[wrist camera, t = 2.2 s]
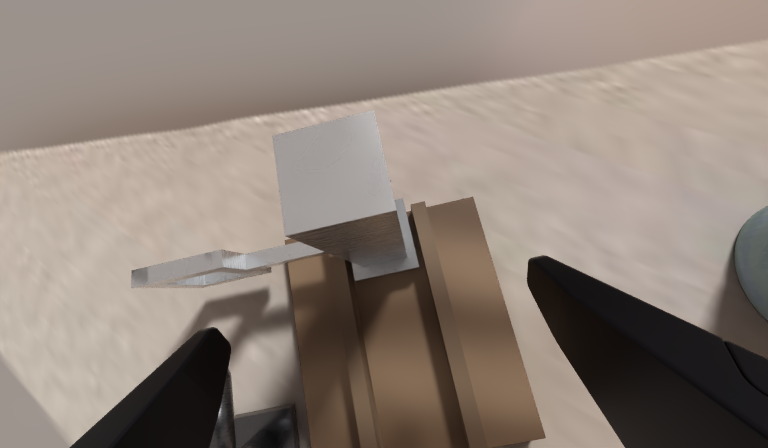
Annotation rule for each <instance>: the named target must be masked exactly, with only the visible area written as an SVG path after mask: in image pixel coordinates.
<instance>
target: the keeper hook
mask: <svg viewBox="0 0 768 448" xmlns="http://www.w3.org/2000/svg"><path fill="white" fill-rule="evenodd" d="M209 448H300V447H299V439H298V430H297V422H296V414H295V405H294V404H289V405H284V406H279V407H274V408H269V409H264V410H259V411H254V412H249V413H244V414H239V415H236V416H235V417H234V409H233V395H232V381H231V373H230V371H229V369H228V371H227V376H226V382H225V387H224V393H223V398H222V403H221V407H220V411H219V415H218V419H217V422H216V426H215V429H214V433H213V437H212V440H211V444H210V447H209Z"/></svg>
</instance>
